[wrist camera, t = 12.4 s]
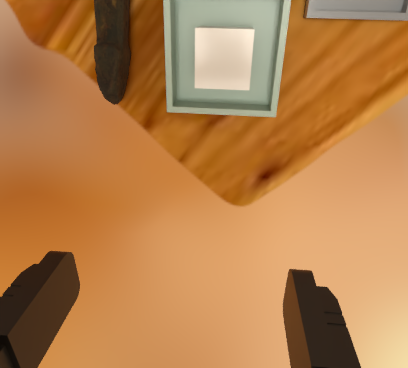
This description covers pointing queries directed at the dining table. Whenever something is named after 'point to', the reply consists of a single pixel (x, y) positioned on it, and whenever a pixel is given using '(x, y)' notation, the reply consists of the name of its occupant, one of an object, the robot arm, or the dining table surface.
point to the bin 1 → (261, 58)
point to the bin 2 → (357, 9)
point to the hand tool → (112, 47)
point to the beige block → (223, 57)
